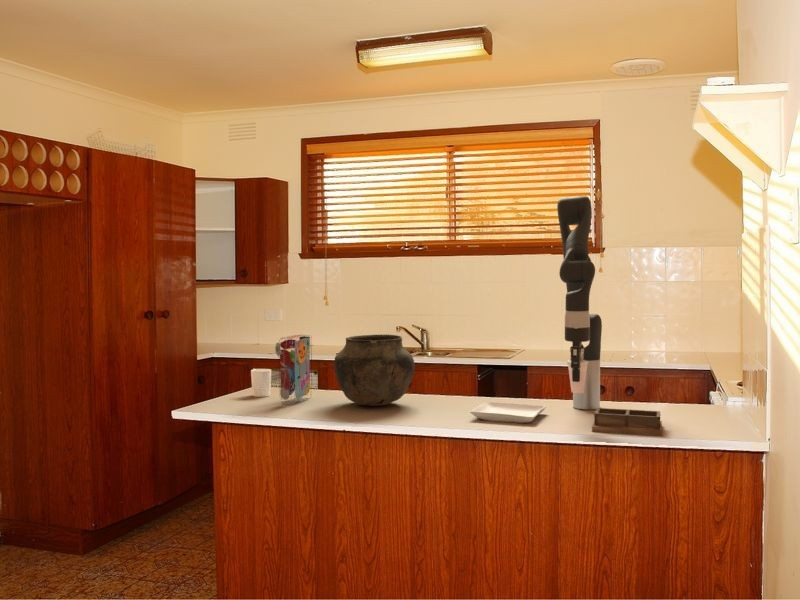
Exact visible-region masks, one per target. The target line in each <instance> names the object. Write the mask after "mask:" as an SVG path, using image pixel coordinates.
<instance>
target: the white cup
mask: <svg viewBox="0 0 800 600" xmlns="http://www.w3.org/2000/svg"><path fill="white" fill-rule="evenodd" d="M250 377H251V389H252V396H253V397H259V398H260V397H261V398H263V397H270V396H271V388H272V387H271V385H272V369H270V368H254V369H251V370H250Z"/></svg>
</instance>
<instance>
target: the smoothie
mask: <svg viewBox="0 0 800 600" xmlns="http://www.w3.org/2000/svg"><path fill="white" fill-rule="evenodd" d="M574 364H578V362H574ZM566 365H567V366H568V374H569V375H568V376H569V381H570V382H569V384H570V389H571V390H570V391H571V393H584V386H585V378H586V370H587V365H588V361H586V360H582V362H580V367H581V368H580V381H579V382H573V381H572V368H571V360H570V359H568V360H567V361H566Z"/></svg>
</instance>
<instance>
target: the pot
mask: <svg viewBox="0 0 800 600" xmlns="http://www.w3.org/2000/svg"><path fill="white" fill-rule="evenodd" d="M333 361H334V362H333V363H334V364H333V367H334V368H333V369H334V374H335V378H336V380H337V384H338V386H339V388H340V389H341V391H342V392H343V394H344V396H345V398H346V399H347V400H349V401H351V402H353V403H355V404H358V405H362V406H368V407H379V406H380V407H381V406H385V405H389V404H392V403H394V402H397V401H398V400H399V399H401V398H402V397H404V395H405V394H406V393H407V390H408V389H409V386H410V384H412V383H411V382H412V380H413V376H414V373H415V360H414V358H413V356H412V354H411V353H410V352H409V351H408V350H406V348H405V347H404V346H403V337H402V336H401V335H395V334H364V335H362V334H361V335H353V336H349V337H345V345H344V347H343V348H342V349H341V350H340V351H338V352H337V354H336V355H335V356H334V360H333Z"/></svg>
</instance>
